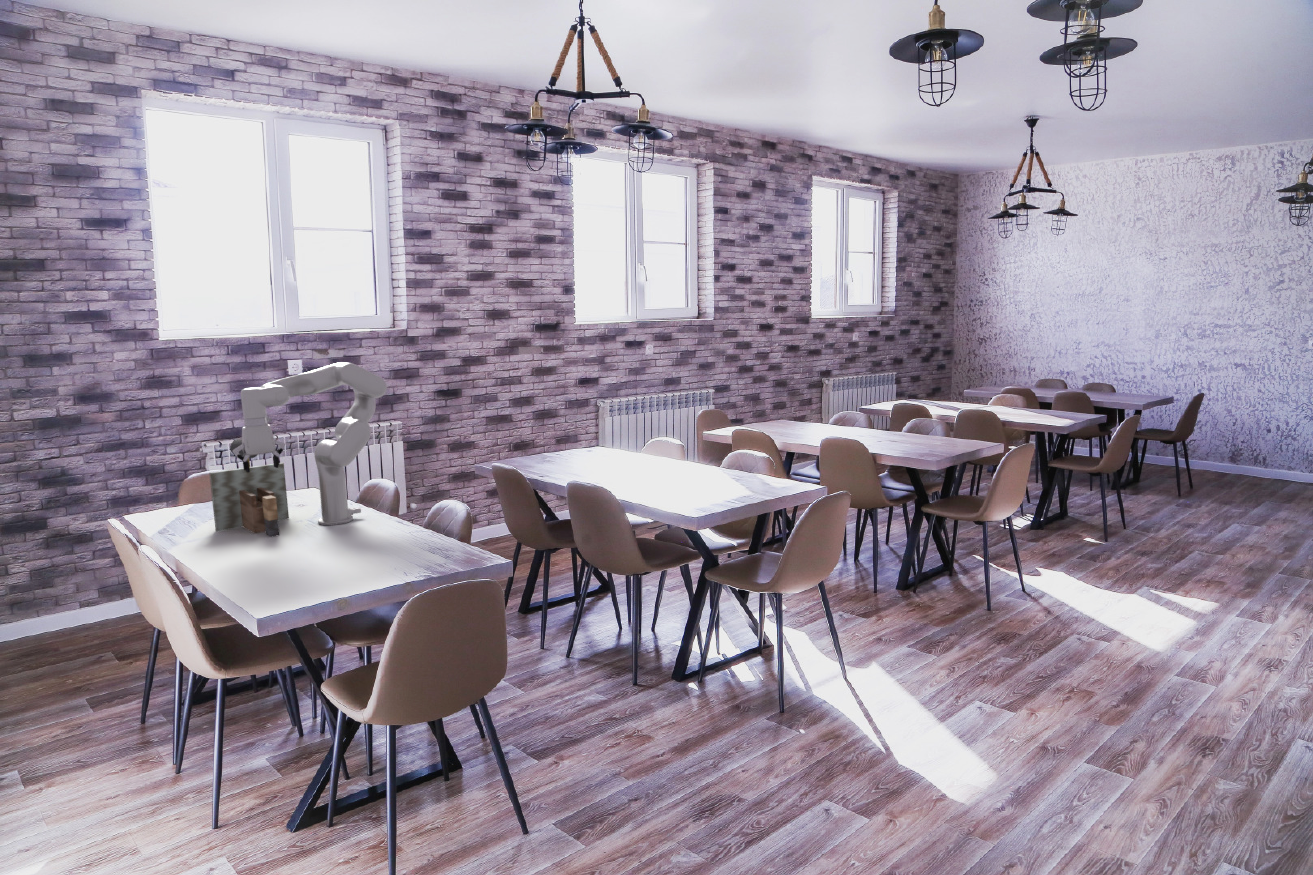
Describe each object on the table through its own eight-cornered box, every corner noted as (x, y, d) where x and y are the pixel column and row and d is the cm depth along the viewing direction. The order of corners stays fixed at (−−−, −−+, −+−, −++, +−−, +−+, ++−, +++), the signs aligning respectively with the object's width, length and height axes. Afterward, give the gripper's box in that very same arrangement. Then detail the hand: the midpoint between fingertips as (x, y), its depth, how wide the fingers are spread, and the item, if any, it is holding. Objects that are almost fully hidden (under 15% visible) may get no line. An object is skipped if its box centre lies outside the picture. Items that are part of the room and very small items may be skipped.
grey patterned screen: (287, 517, 334) (281, 462, 330) (301, 524, 322) (296, 467, 319) (215, 530, 317) (209, 472, 313) (228, 538, 305) (222, 478, 301)
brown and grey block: (274, 532, 311) (271, 495, 309) (279, 535, 308) (275, 497, 305) (265, 534, 309) (262, 496, 307) (270, 536, 305) (266, 498, 303)
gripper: (278, 418, 309) (284, 464, 312) (227, 424, 298) (233, 472, 301) (284, 420, 303) (290, 467, 306) (232, 426, 293) (238, 475, 296)
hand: (262, 469), depth 304 cm, fingers open, 9 cm apart
